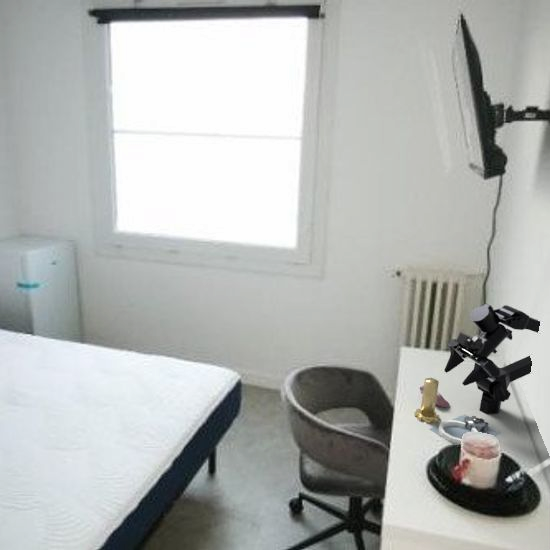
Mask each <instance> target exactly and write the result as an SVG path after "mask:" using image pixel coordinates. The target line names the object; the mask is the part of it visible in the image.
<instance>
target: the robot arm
mask: <svg viewBox="0 0 550 550" xmlns="http://www.w3.org/2000/svg"><path fill="white" fill-rule="evenodd" d="M469 318H470V320H471V321H472V323H474V325H476V327H477V328H478V329H479V330H480V332H482V333H481V334H480V335H479V334H475V335H474V336H472V335H471V336H470V335H469V334H466V333H464V332H463V331H462V332H461V331H460V332H459V333H458V335H457V338H456V339H455V338H454V339H451V340H450V341H449V342H448V343H447V345H448V348H449V350H450V356H449V358H448V361H447V363H446V365H445V368H444V370H443V371H444V373H446V374H448V373H449V372H451V371H452V370H453V369H455V368H456V367H458V366H459V365H461V364H462V363H463V362H465V359H466V358H467V359H470V360H471V361H473V362H474V365H473V366H474V367H473V369H472V370H471V371H470V372H469V374H468V375H467V376H466V377H465V379H464V380H463V381H462V385H463V386H468V385H470V384H473V383H475V384H476V385H477V387H476V388H477V390H479V391H481V392H482V394H481V400H480V403H479V404H480V405H479V412H482V413H484V414H485V415H497V414H499V413H500V411H501V406H502V403H503V402H505V401H507V400H509V399H510V396H511V392H510V391H509V390H508V387H509V386H510V384H511V382H512V383H513V382H515V381H516V380H518V379H522V378H523V377H525V376H527V375H529V374H531V373H530V372H531V366H532V361H531V358H530V355H528V356H525V357H524V358H522V359H519V360H515V361H514V362H513V363H512V362H511V363H509V364H508V365H505V366H503V367H499V366H498V365H497V364H495V362H494V361H493V360H492V359H491V358H488V357H489V356H491V354H492V353H493V354H496V353H498V350H497V348H498V347H499V346H500V345H501V344H502V342H504V340H505V339H508V340H510V341H512V340H513V331H512V330H511V329H513V330H517V331H524V330H529V331H532V332H534V333H538V331H539V326H540V321H541V320H540V321H538V320H539V319H537V318H533V317H531V316H530V315H528V314H527V313H525V312H523V311H522V310H519V309H517V308H514V307H513V306H511V305H510V306H509V305H507V304H505V305H503V306H501V307H500V308H497V309H494V308H493V307H492V305H490V304H488V303H485V304H484V305H481V306H478V307H476V308H474V309H472V310H471V312H470V314H469ZM506 326H507V327H509V328H506ZM510 328H511V329H510ZM538 334H539V333H538Z"/></svg>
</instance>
